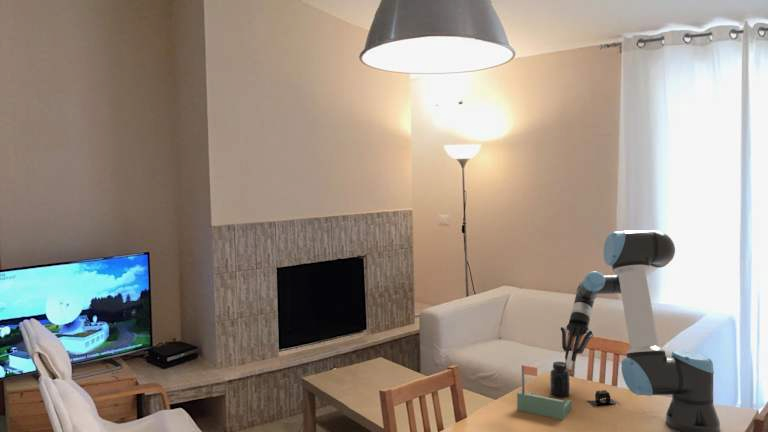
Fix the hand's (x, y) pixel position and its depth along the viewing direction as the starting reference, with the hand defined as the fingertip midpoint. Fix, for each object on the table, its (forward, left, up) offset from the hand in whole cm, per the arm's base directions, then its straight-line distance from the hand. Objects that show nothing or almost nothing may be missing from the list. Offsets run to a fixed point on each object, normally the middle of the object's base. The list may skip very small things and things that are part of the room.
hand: (568, 367), depth 220 cm
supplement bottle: (-4, +11, -7) cm, 14 cm away
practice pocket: (-10, +26, -7) cm, 28 cm away
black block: (-19, +5, -8) cm, 21 cm away
